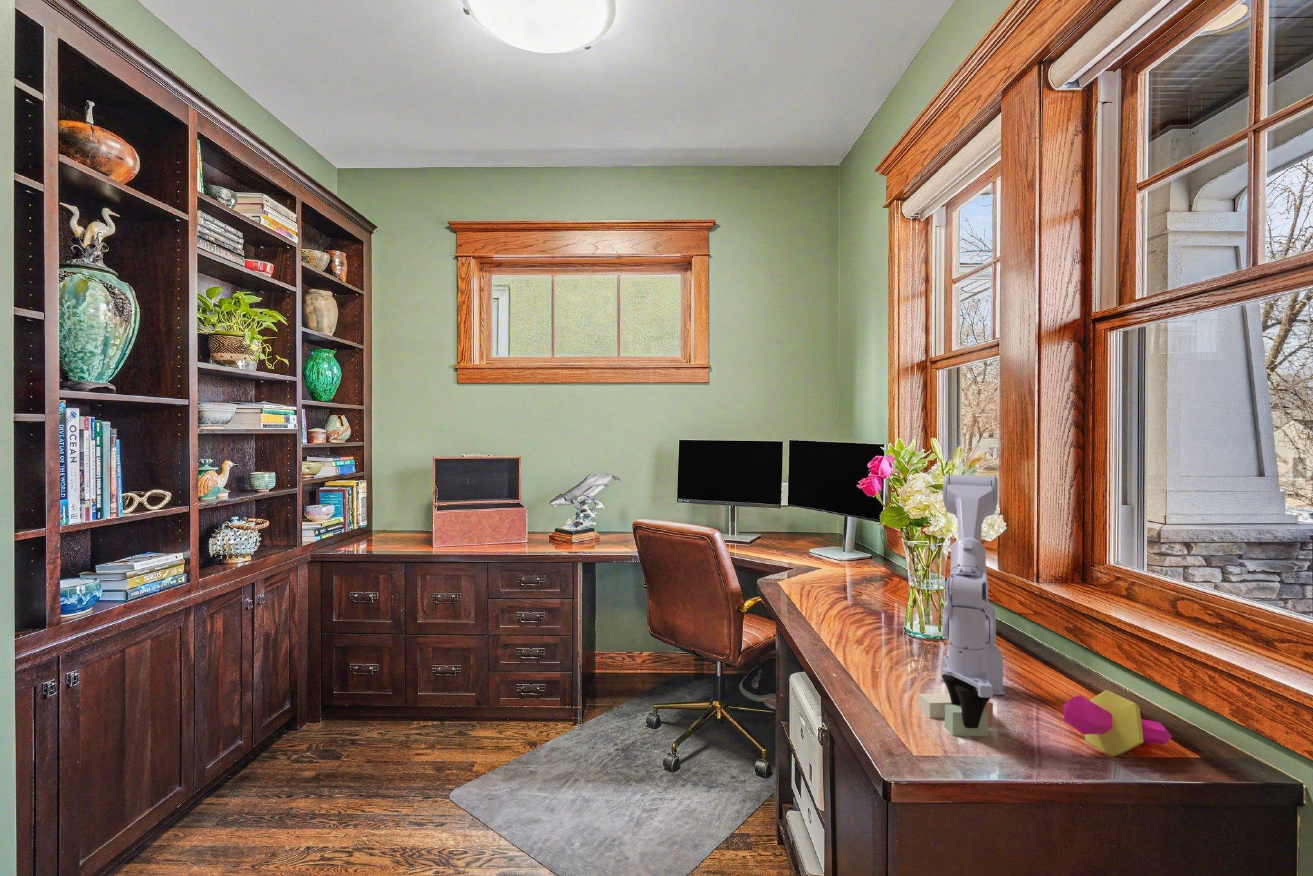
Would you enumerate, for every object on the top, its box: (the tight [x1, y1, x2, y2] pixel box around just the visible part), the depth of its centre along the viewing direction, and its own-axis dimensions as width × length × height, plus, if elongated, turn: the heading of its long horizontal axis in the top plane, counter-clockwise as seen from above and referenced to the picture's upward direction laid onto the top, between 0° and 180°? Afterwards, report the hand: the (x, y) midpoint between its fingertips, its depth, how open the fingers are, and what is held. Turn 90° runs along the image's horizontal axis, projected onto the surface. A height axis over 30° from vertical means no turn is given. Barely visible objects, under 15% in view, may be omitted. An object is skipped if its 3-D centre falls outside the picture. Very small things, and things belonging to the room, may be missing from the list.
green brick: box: [944, 705, 989, 737], centre depth 112 cm, size 6×3×4 cm, turn 88°
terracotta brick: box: [984, 699, 994, 726], centre depth 118 cm, size 6×3×4 cm, turn 178°
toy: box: [1062, 689, 1173, 757], centre depth 106 cm, size 10×18×10 cm, turn 98°
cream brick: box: [918, 692, 952, 719], centre depth 120 cm, size 6×4×3 cm, turn 95°
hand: (965, 722), depth 112 cm, fingers closed on green brick, 3 cm apart
